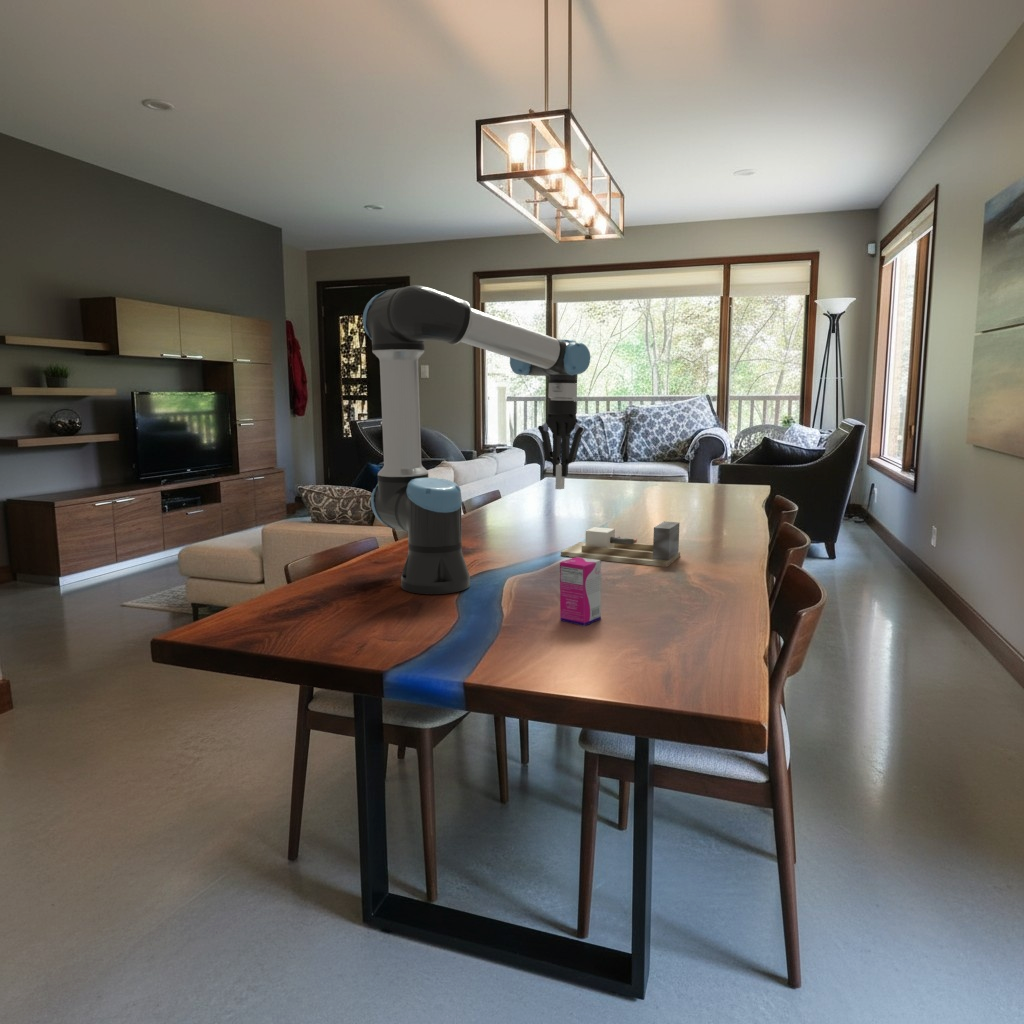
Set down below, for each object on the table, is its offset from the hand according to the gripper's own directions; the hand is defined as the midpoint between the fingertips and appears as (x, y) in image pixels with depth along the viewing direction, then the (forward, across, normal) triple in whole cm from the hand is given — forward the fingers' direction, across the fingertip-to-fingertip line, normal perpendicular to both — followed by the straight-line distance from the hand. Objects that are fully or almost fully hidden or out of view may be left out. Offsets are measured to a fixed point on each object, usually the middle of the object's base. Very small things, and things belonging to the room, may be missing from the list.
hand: (559, 488), depth 202 cm
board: (+17, +17, +1) cm, 24 cm away
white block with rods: (+15, +15, +3) cm, 21 cm away
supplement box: (+18, +28, -56) cm, 65 cm away
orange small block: (+15, +19, +7) cm, 25 cm away
